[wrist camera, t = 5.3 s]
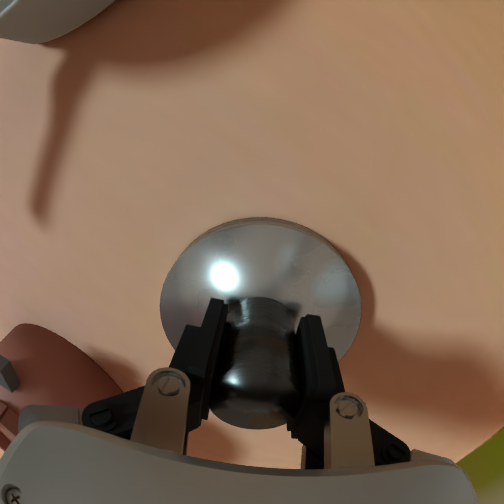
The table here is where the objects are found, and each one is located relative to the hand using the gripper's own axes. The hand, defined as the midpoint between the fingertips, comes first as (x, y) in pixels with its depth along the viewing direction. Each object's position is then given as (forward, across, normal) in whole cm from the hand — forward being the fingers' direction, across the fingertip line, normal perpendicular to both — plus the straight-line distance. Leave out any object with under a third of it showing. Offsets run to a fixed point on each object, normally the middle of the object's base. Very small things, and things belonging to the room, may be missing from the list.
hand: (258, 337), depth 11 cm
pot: (+2, +14, +12) cm, 19 cm away
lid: (+2, 0, 0) cm, 2 cm away
